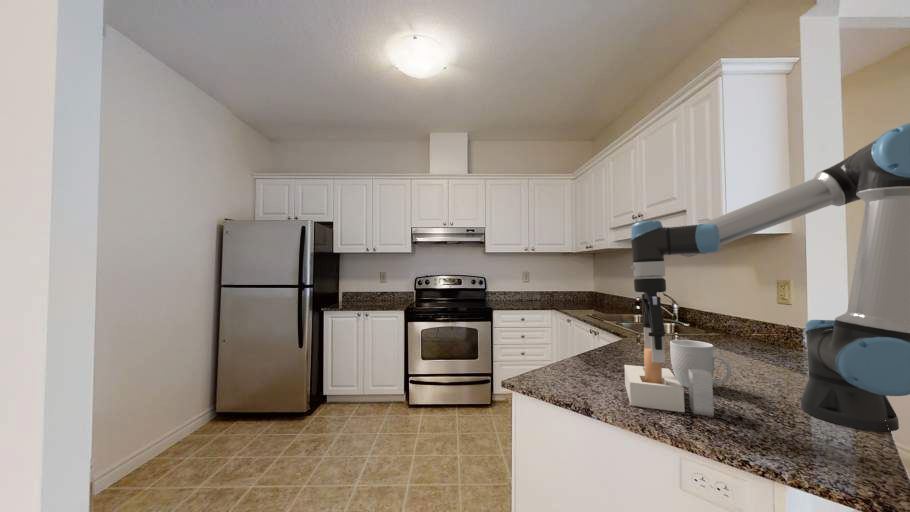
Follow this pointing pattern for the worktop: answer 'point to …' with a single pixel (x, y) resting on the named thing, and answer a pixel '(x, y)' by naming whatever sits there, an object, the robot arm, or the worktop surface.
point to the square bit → (701, 392)
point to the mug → (694, 359)
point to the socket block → (654, 390)
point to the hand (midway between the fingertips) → (654, 356)
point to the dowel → (652, 368)
